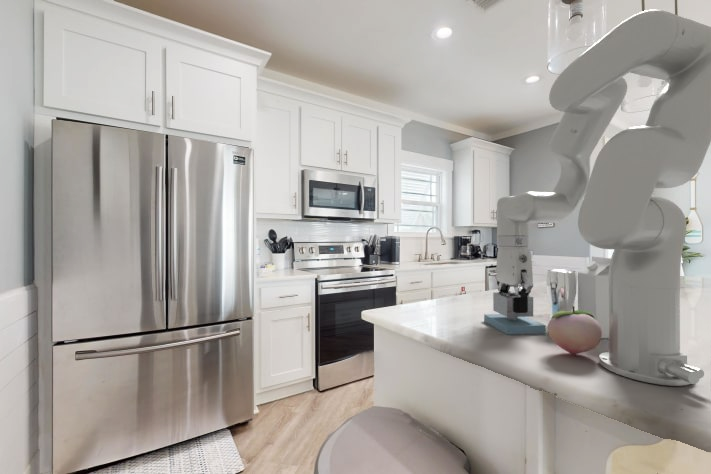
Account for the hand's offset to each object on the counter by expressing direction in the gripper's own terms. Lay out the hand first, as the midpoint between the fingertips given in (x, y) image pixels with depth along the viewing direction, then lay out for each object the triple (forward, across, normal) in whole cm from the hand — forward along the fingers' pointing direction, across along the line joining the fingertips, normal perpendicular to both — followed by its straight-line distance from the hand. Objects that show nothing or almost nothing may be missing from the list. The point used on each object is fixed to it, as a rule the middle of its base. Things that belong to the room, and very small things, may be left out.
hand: (512, 308), depth 85 cm
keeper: (+5, 0, 0) cm, 5 cm away
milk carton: (+5, -8, -18) cm, 20 cm away
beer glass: (+5, -1, -13) cm, 14 cm away
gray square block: (+1, 0, 0) cm, 1 cm away
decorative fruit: (+5, -20, -2) cm, 21 cm away
